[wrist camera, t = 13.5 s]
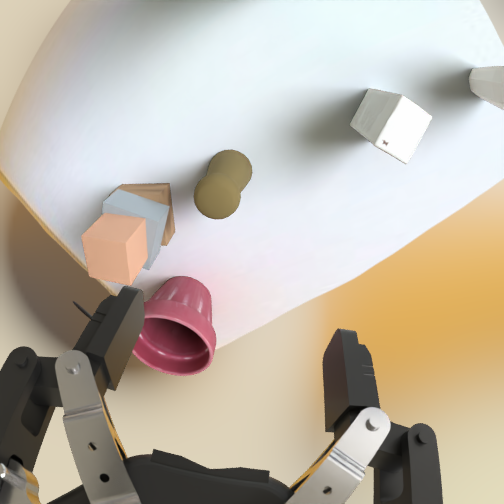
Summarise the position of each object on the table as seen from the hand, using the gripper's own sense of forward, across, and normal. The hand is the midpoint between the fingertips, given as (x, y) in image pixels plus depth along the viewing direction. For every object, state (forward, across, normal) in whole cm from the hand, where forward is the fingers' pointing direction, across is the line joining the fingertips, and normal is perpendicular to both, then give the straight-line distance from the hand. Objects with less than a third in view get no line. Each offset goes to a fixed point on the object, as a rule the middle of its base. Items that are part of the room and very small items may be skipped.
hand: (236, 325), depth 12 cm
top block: (+28, +16, +14) cm, 35 cm away
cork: (+32, +5, +6) cm, 33 cm away
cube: (+23, +16, +13) cm, 31 cm away
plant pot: (+32, +9, +30) cm, 45 cm away
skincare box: (+33, -12, -7) cm, 35 cm away
